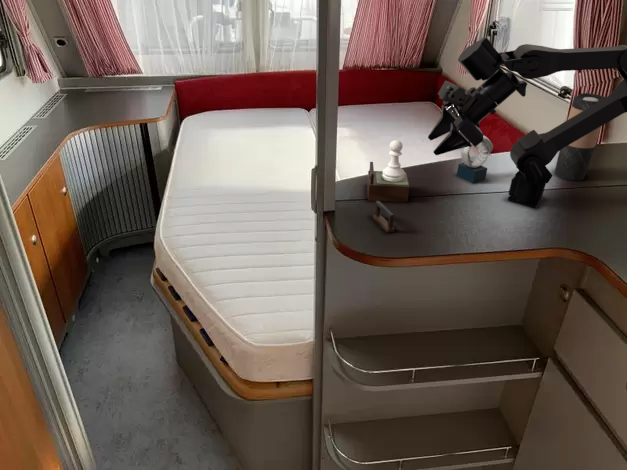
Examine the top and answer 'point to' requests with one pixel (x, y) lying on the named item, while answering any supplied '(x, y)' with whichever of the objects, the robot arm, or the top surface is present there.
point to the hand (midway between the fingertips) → (431, 146)
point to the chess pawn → (394, 164)
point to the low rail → (380, 220)
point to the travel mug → (578, 143)
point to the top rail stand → (386, 187)
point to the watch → (475, 162)
